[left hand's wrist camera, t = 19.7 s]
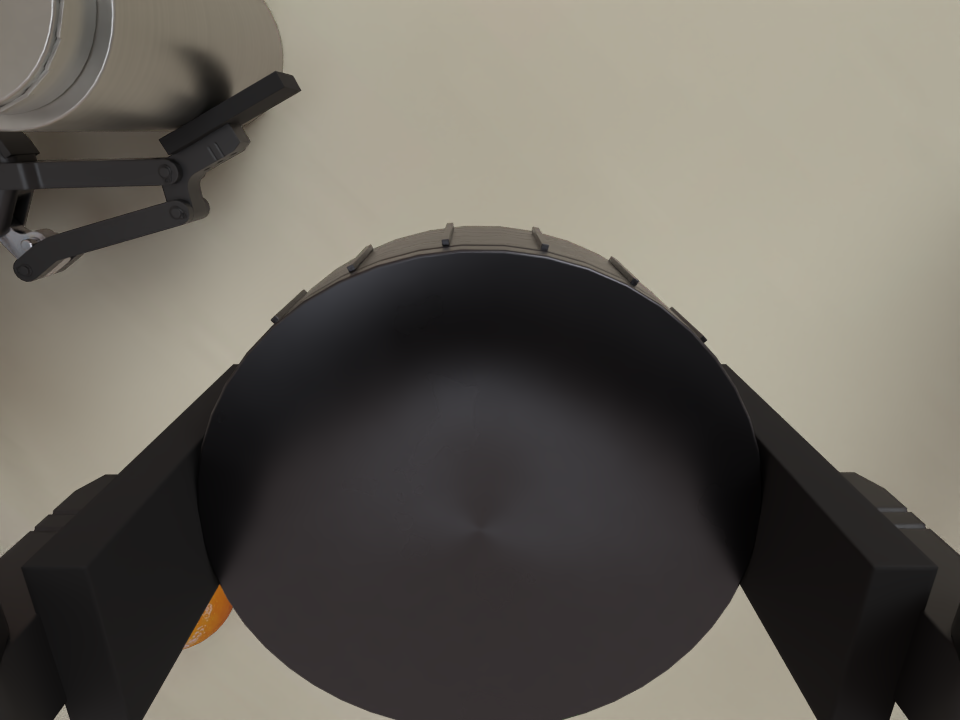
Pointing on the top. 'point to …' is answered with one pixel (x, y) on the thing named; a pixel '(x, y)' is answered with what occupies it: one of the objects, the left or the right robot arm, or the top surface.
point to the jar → (128, 61)
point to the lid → (479, 480)
